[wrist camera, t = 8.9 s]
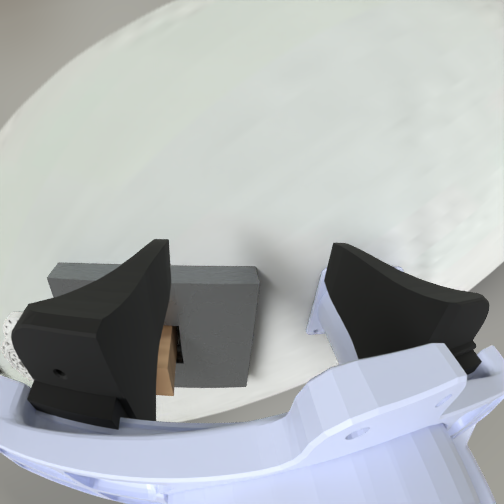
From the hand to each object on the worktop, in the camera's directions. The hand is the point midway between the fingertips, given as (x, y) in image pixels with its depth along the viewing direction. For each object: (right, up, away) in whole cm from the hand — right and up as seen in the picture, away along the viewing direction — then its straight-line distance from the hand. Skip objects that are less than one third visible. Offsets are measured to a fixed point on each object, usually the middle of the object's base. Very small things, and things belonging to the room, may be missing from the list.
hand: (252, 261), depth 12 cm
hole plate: (-9, -7, +13) cm, 18 cm away
